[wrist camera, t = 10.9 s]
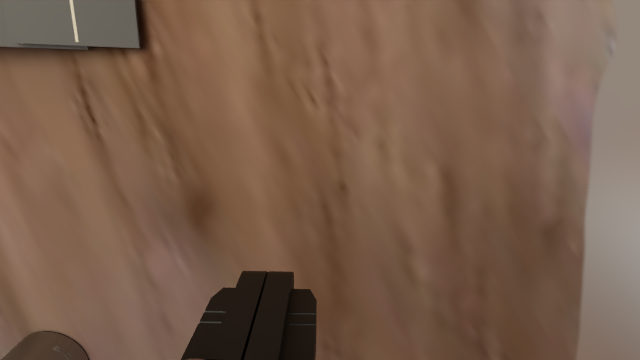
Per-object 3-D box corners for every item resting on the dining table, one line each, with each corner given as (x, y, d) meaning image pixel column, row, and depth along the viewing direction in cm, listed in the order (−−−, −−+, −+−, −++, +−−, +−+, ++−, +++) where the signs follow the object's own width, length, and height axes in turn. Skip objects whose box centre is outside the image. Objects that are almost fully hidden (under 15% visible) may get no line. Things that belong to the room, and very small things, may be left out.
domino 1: (79, -9, 34) (-64, -21, 31) (87, 49, 36) (-48, 44, 32) (83, -7, 36) (-53, -18, 32) (90, 50, 37) (-38, 45, 34)
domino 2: (133, -11, 34) (-4, -24, 31) (139, 48, 36) (9, 42, 32) (135, -9, 36) (5, -20, 32) (140, 48, 37) (17, 43, 34)
